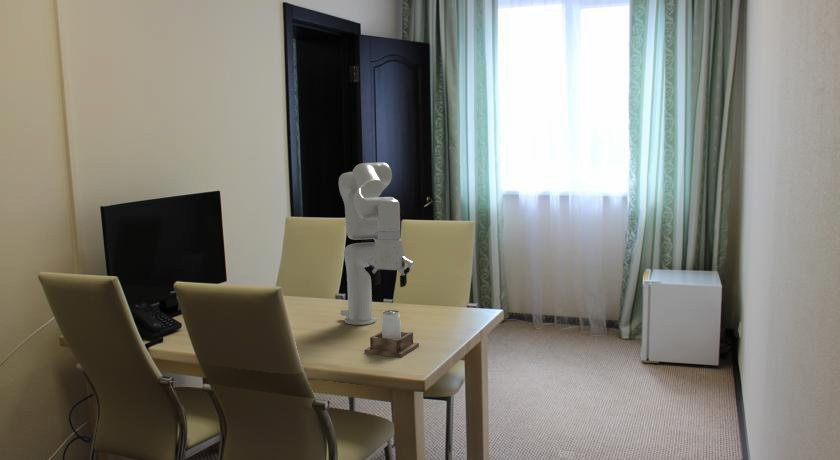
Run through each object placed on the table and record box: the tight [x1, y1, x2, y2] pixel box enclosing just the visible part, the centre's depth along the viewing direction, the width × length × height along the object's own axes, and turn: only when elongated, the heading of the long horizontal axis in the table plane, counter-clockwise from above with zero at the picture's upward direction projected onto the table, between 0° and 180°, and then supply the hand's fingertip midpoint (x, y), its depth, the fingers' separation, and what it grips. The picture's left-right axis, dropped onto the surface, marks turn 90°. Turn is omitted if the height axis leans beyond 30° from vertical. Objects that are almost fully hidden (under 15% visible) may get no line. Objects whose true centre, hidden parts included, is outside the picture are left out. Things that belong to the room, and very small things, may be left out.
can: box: [381, 309, 402, 339], centre depth 255 cm, size 6×6×12 cm
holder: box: [364, 330, 420, 358], centre depth 255 cm, size 14×14×5 cm
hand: (390, 285), depth 253 cm, fingers open, 9 cm apart
